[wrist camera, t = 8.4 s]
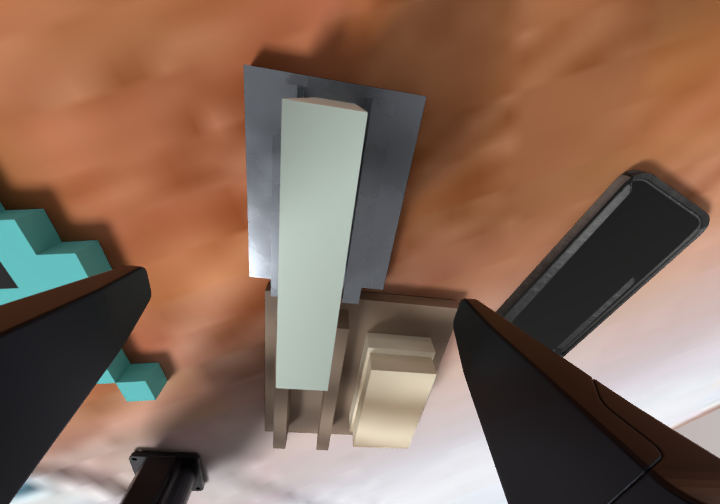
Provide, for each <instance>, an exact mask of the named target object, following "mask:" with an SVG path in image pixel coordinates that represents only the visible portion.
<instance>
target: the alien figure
mask: <svg viewBox="0 0 720 504" xmlns="http://www.w3.org/2000/svg"><path fill="white" fill-rule="evenodd" d="M110 270H112V268H111V266H110V264H109V262H108V260H107V258H106V256H105V254H104V252H103V250H102V248H101V246H100V244H99V242H98V240H92V241H69V242H62V241H61V239H60V237H59V235H58V234H57V232H56V230H55V228H54V226H53V225H52V223H51V221H50V219H49V218H48V216H47V214H46V212H45V210H44V209H24V210H5V209H4V207H3V205H2V204H1V202H0V305H3V304H6V303H9V302H12V301H15V300H18V299H22V298H25V297H28V296H31V295H34V294H37V293H40V292H44V291H47V290H50V289H53V288H56V287H59V286H63V285H66V284H69V283H72V282H75V281H78V280H81V279H85V278H88V277H91V276H94V275H97V274H100V273H104V272H107V271H110ZM166 382H167V379H166V377H165V375H164V373H163V371H162V369H161V367H160V365H159V363H141V364H130V362H129V360H128V358H127V357H126V355H125V353H124V351H123V350H122V349H121V350H120V352H119V353H118V355H117V356H116V358H115V359H114V360H113V362H112V363H111V364H110V366H109V367H108V369H107V370H106V371H105V373H104V374H103V375H102V377H101V378H100V380H99V381H98V382H97V384H104V383H116V384H117V386H118V388H119V389H120V391H121V392H122V394H123V396H124V397H125V399H126V400H127V402H129V401H146V400H156V398H157V397H158V395H159V394H160V392H161V390H162V389H163V387H164V386H165V384H166Z"/></svg>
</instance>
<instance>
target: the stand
mask: <svg viewBox="0 0 720 504" xmlns="http://www.w3.org/2000/svg"><path fill="white" fill-rule="evenodd" d="M244 97H245V132H246V167H247V202H248V237H249V272H250V277H257V278H267V279H271V296H275V297H278V259H279V212H280V166H281V119H282V99H285V98H311V97H317V98H323V99H329V100H335V101H341V102H347V103H354V104H356V105H358V106H359V107H361V108H362V109H364V110H365V111H366V112H368V114H367V121H366V128H365V135H364V142H363V149H362V156H361V163H360V170H359V177H358V184H357V191H356V198H355V205H354V211H353V218H352V225H351V232H350V239H349V246H348V253H347V260H346V267H345V274H344V281H343V288H342V303H352V304H359V299H360V293H361V288H369V289H380V290H383V288H384V283H385V279H386V274H387V270H388V265H389V261H390V257H391V252H392V248H393V243H394V239H395V234H396V230H397V225H398V221H399V217H400V212H401V208H402V203H403V199H404V194H405V190H406V185H407V181H408V177H409V172H410V168H411V163H412V159H413V154H414V150H415V145H416V141H417V137H418V132H419V128H420V123H421V119H422V114H423V110H424V105H425V101H426V97H427V96H421V95H416V94H410V93H404V92H398V91H393V90H387V89H381V88H375V87H370V86H364V85H358V84H353V83H347V82H341V81H335V80H330V79H324V78H318V77H312V76H307V75H301V74H295V73H289V72H284V71H278V70H272V69H267V68H261V67H255V66H249V65H244Z"/></svg>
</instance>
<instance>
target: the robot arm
mask: <svg viewBox="0 0 720 504" xmlns="http://www.w3.org/2000/svg"><path fill="white" fill-rule="evenodd" d="M150 298H151V288H150V284H149V279H148V275H147V271H146V269H145V268H143V267H140V266H130V265H127V266H122V267H119V268H116V269H113V270H110V271H107V272H104V273H100V274H97V275H94V276H91V277H88V278H85V279H81V280H78V281H75V282H72V283H69V284H66V285H63V286H59V287H56V288H53V289H50V290H47V291H44V292H40V293H37V294H34V295H31V296H28V297H25V298H22V299H18V300H15V301H12V302H9V303H6V304H3V305H0V504H10V502H11V501H12V499H13V498H14V497H15V495H16V494H17V493H18V491H19V490H20V488H21V487H22V486H23V484H24V483H25V482H26V480H27V479H28V477H29V476H30V475H31V473H32V472H33V471H34V469H35V468H36V466H37V465H38V464H39V462H40V461H41V459H42V458H43V457H44V455H45V454H46V453H47V451H48V450H49V448H50V447H51V446H52V444H53V443H54V442H55V440H56V439H57V437H58V436H59V435H60V433H61V432H62V431H63V429H64V428H65V426H66V425H67V424H68V422H69V421H70V420H71V418H72V417H73V415H74V414H75V413H76V411H77V410H78V408H79V407H80V406H81V404H82V403H83V402H84V400H85V399H86V397H87V396H88V395H89V393H90V392H91V391H92V389H93V388H94V386H95V385H96V384H97V382H98V381H99V380H100V378H101V377H102V375H103V374H104V373H105V371H106V370H107V369H108V367H109V366H110V364H111V363H112V362H113V360H114V359H115V358H116V356H117V355H118V353H119V352H120V350H121V349H122V347H123V346H124V344H125V342H126V341H127V339H128V337H129V336H130V334H131V332H132V330H133V329H134V327H135V325H136V323H137V322H138V320H139V318H140V316H141V315H142V313H143V311H144V309H145V308H146V306H147V304H148V302H149V301H150ZM453 328H454V332H455V337H456V341H457V346H458V350H459V355H460V359H461V364H462V368H463V372H464V375H465V378H466V381H467V384H468V387H469V390H470V393H471V396H472V399H473V402H474V405H475V408H476V411H477V414H478V417H479V420H480V423H481V426H482V429H483V432H484V434H485V437H486V440H487V443H488V446H489V449H490V452H491V455H492V458H493V461H494V464H495V467H496V470H497V473H498V476H499V479H500V482H501V484H502V487H503V490H504V493H505V496H506V499H507V502H508V504H720V458H718V457H717V456H715V455H714V454H712V453H710V452H709V451H707V450H705V449H704V448H702V447H700V446H699V445H697V444H696V443H694V442H692V441H691V440H689V439H687V438H686V437H684V436H683V435H681V434H679V433H678V432H676V431H674V430H673V429H671V428H670V427H668V426H666V425H665V424H663V423H662V422H660V421H658V420H657V419H655V418H654V417H652V416H650V415H649V414H647V413H646V412H644V411H642V410H641V409H639V408H638V407H636V406H634V405H633V404H631V403H630V402H628V401H627V400H625V399H624V398H622V397H621V396H619V395H618V394H616V393H615V392H613V391H612V390H610V389H609V388H607V387H606V386H604V385H603V384H601V383H600V382H598V381H597V380H595V379H592V377H591V376H589V375H588V374H586V373H585V372H583V371H582V370H580V369H579V368H577V367H576V366H574V365H573V364H571V363H570V362H568V361H567V360H565V359H564V358H562V357H561V356H560V355H558V354H557V353H555V352H554V351H552V350H551V349H549V348H548V347H546V346H545V345H543V344H542V343H540V342H539V341H537V340H536V339H534V338H533V337H531V336H530V335H528V334H527V333H525V332H524V331H522V330H521V329H519V328H518V327H516V326H515V325H513V324H512V323H510V322H509V321H508V320H506V319H505V318H503V317H502V316H500V315H499V314H497V313H496V312H494V311H493V310H491V309H490V308H488V307H487V306H485V305H484V304H482V303H481V302H479V301H478V300H475V299H466V298H464V299H462V300H461V302H460V304H459V306H458V309H457V312H456V314H455V317H454V320H453ZM129 460H130V463H131V466H132V468H133V471H134V473H135V477H134V478H133V480H132V482H131V484H130V486H129V487H128V489H127V491H126V493H125V495H124V496H123V498H122V500H121V502H120V504H187V502H188V499H189V497H190V494H191V491H201V490H203V488H204V485H205V484H204V478H203V473H202V467H201V462H200V457H199V455H197V454H180V453H149V452H133V453H132V454H131V456H130V457H129Z"/></svg>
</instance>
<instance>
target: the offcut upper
mask: <svg viewBox="0 0 720 504" xmlns="http://www.w3.org/2000/svg"><path fill="white" fill-rule="evenodd" d="M436 376H437V373H436V370H435V367H434V364H433V361H432V358H431V357H420V356H407V355H393V354H379V353H370V354H369V358H368V363H367V367H366V372H365V376H364V380H363V385H362V389H361V394H360V398H359V402H358V407H357V411H356V416H355V420H354V424H353V447H378V448H404V449H408V447H409V445H410V442H411V440H412V437H413V434H414V432H415V429H416V427H417V424H418V422H419V419H420V417H421V414H422V411H423V409H424V406H425V404H426V401H427V399H428V396H429V393H430V391H431V388H432V386H433V383H434V381H435V378H436Z"/></svg>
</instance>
